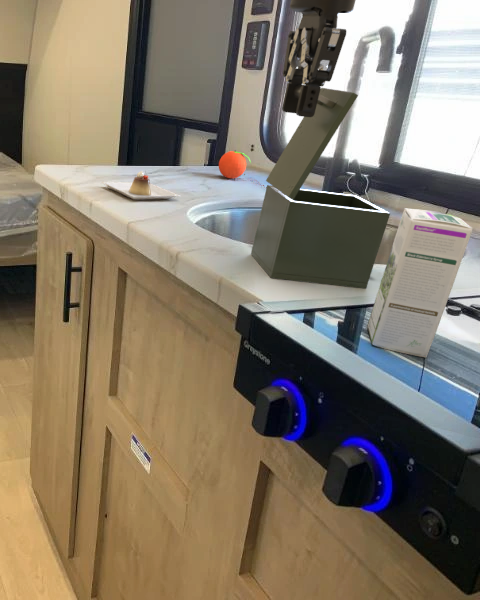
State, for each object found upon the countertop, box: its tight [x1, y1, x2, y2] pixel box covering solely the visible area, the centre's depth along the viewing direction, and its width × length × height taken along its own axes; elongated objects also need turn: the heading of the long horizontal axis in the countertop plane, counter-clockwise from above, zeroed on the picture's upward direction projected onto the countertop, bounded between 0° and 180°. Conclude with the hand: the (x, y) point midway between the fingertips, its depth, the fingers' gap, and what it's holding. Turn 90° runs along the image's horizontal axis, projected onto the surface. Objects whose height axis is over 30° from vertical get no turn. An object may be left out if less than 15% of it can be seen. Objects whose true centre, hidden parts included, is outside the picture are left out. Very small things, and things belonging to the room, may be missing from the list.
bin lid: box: [265, 84, 359, 199], centre depth 80 cm, size 14×11×5 cm
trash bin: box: [250, 184, 391, 289], centre depth 86 cm, size 14×11×11 cm
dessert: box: [101, 170, 181, 201], centre depth 123 cm, size 12×12×5 cm
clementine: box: [218, 150, 252, 180], centre depth 153 cm, size 8×7×7 cm
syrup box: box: [366, 207, 473, 358], centre depth 64 cm, size 6×6×14 cm
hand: (296, 113), depth 79 cm, fingers closed on bin lid, 5 cm apart
